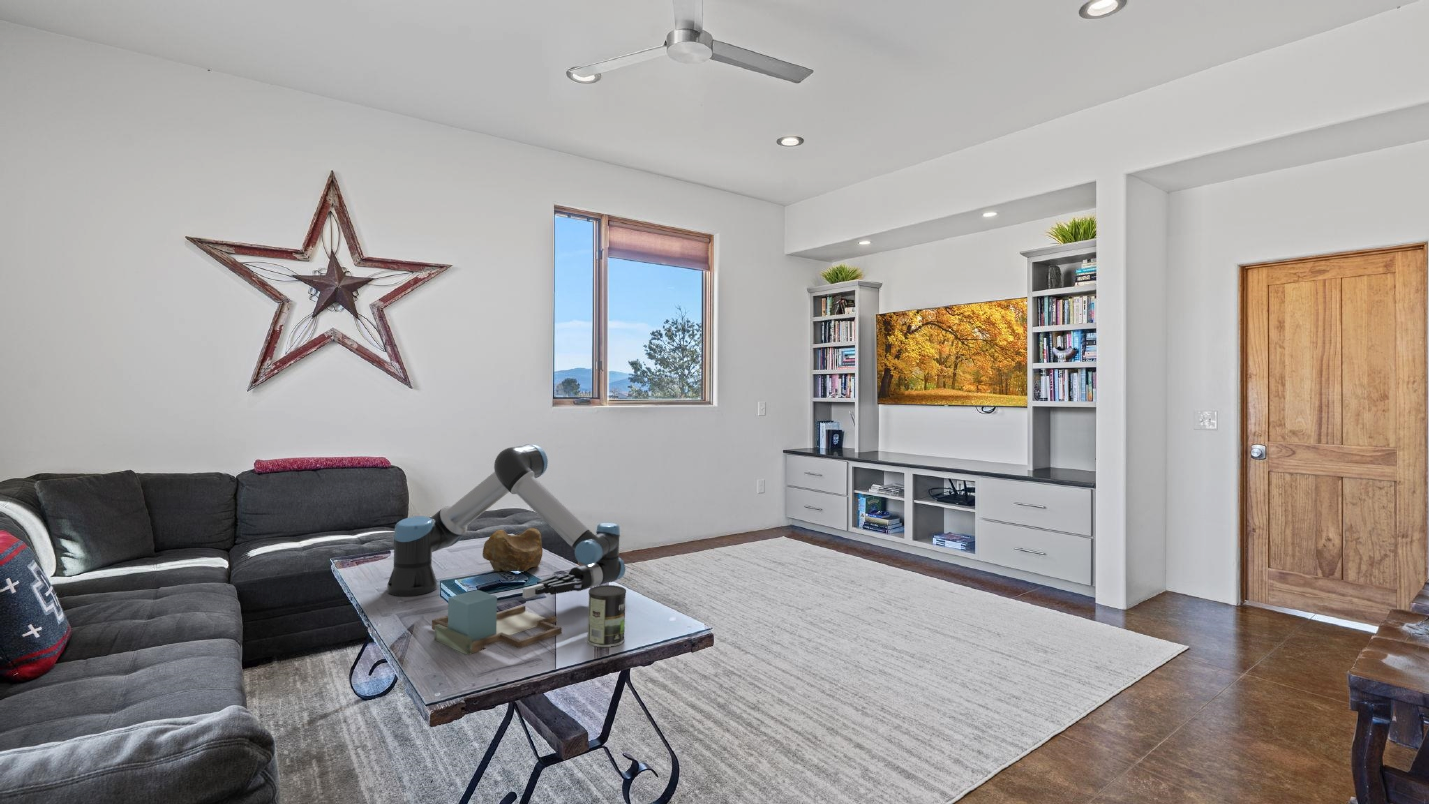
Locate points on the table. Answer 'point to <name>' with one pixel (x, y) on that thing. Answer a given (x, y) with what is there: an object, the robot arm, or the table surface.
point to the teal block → (473, 614)
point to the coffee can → (606, 615)
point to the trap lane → (498, 631)
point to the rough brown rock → (513, 550)
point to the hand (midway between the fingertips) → (524, 593)
